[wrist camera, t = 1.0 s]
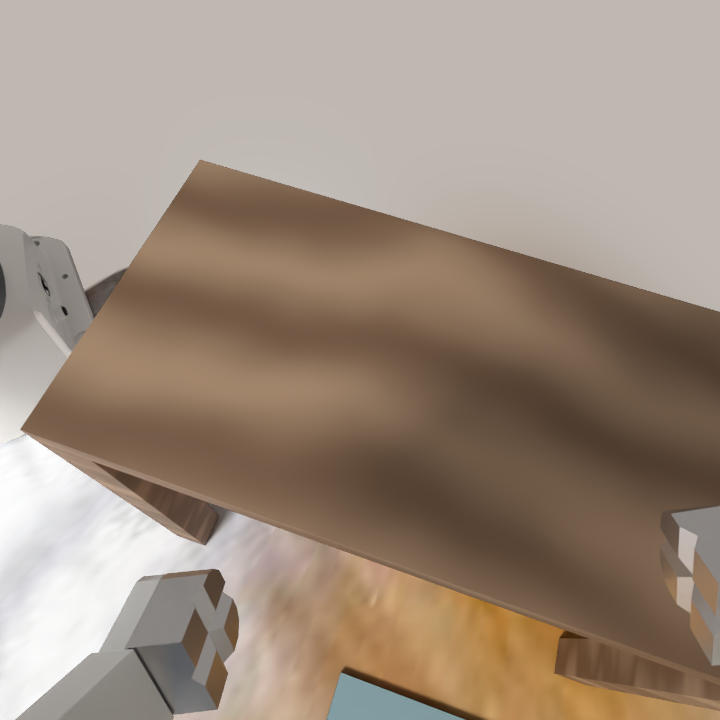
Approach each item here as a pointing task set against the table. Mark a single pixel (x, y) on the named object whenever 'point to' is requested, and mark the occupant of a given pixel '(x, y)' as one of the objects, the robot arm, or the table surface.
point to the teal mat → (377, 704)
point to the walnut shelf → (409, 412)
